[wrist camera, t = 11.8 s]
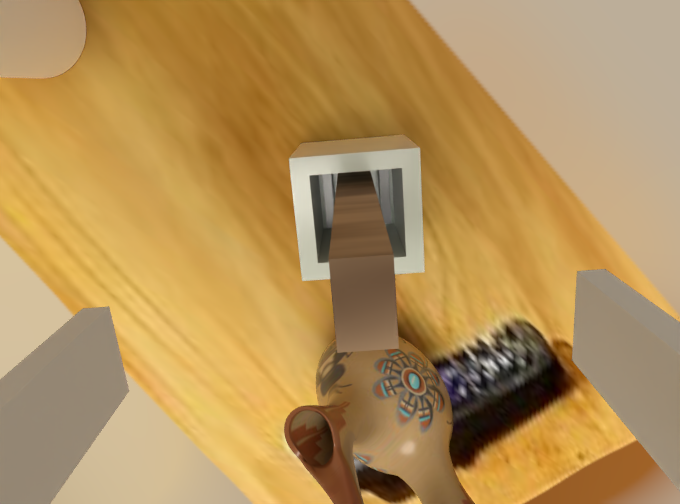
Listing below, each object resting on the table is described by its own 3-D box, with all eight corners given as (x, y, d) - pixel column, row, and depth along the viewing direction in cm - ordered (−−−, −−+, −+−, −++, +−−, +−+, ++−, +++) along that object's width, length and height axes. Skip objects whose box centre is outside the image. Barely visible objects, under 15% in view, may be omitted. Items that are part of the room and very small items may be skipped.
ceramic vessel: (477, 372, 50) (600, 637, 26) (415, 437, 52) (475, 736, 28) (339, 271, 47) (331, 461, 23) (279, 343, 49) (215, 587, 25)
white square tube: (301, 142, 43) (288, 158, 34) (403, 134, 43) (419, 147, 34) (311, 241, 46) (302, 281, 36) (408, 233, 46) (424, 272, 36)
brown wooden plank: (338, 168, 43) (328, 259, 20) (368, 166, 43) (393, 254, 20) (342, 216, 44) (337, 352, 21) (371, 213, 44) (398, 348, 21)
